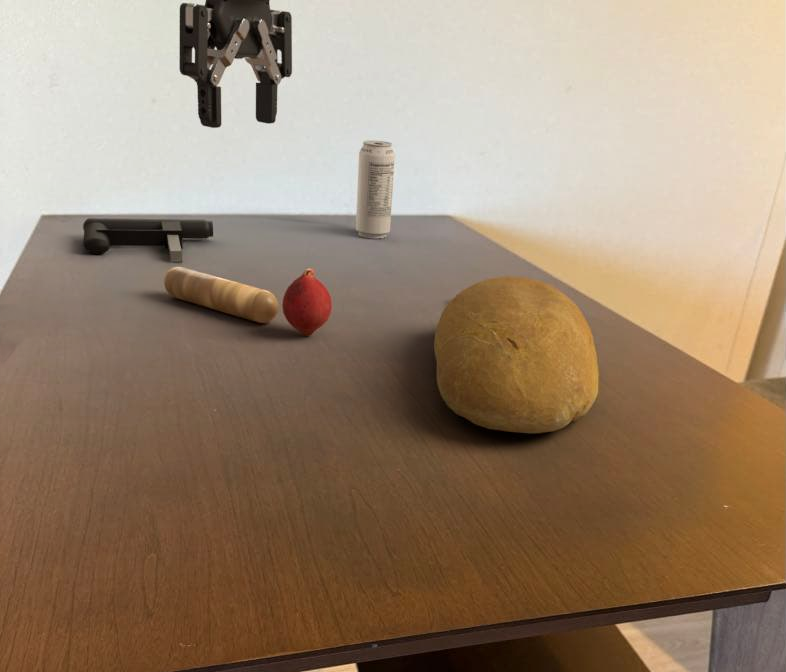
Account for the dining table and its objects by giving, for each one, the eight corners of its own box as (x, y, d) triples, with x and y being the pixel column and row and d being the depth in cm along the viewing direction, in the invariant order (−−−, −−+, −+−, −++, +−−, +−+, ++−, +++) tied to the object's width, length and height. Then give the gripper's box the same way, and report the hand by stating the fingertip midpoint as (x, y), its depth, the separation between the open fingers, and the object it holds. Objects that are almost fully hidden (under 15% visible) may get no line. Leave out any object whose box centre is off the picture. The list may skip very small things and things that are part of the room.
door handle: (221, 245, 127) (210, 214, 139) (80, 245, 122) (82, 213, 134) (222, 267, 129) (211, 235, 141) (83, 268, 124) (84, 234, 136)
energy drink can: (381, 230, 154) (386, 140, 146) (394, 239, 149) (401, 145, 141) (350, 231, 151) (354, 139, 143) (363, 239, 147) (367, 145, 139)
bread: (432, 443, 80) (443, 341, 75) (431, 325, 110) (439, 246, 105) (625, 458, 81) (649, 357, 75) (572, 336, 110) (587, 258, 105)
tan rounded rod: (158, 297, 112) (156, 267, 110) (180, 291, 115) (178, 261, 113) (264, 329, 104) (264, 297, 102) (285, 322, 107) (285, 290, 105)
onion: (304, 347, 100) (305, 278, 96) (272, 333, 103) (272, 266, 99) (340, 337, 104) (342, 270, 100) (308, 324, 107) (309, 259, 103)
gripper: (256, -59, 87) (255, 116, 95) (153, -77, 76) (162, 122, 85) (315, -54, 84) (309, 127, 92) (216, -73, 73) (219, 134, 82)
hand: (239, 124), depth 89 cm, fingers open, 8 cm apart
